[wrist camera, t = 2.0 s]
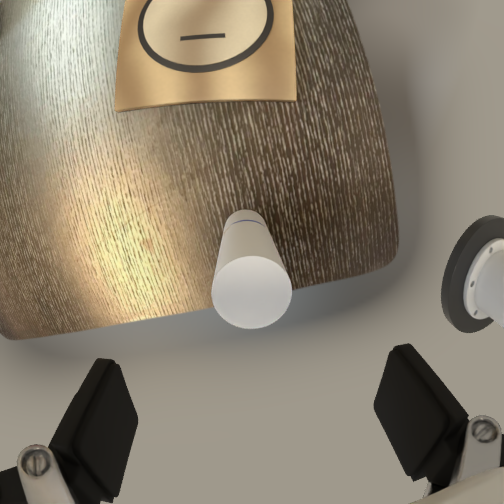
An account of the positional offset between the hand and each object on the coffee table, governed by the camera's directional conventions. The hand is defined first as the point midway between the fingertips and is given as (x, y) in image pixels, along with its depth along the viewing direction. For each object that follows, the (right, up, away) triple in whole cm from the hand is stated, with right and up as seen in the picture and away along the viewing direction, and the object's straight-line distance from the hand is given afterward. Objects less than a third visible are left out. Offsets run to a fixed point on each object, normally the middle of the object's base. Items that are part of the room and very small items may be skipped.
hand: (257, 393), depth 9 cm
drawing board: (-5, +29, +14) cm, 32 cm away
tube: (-1, +7, +21) cm, 22 cm away
